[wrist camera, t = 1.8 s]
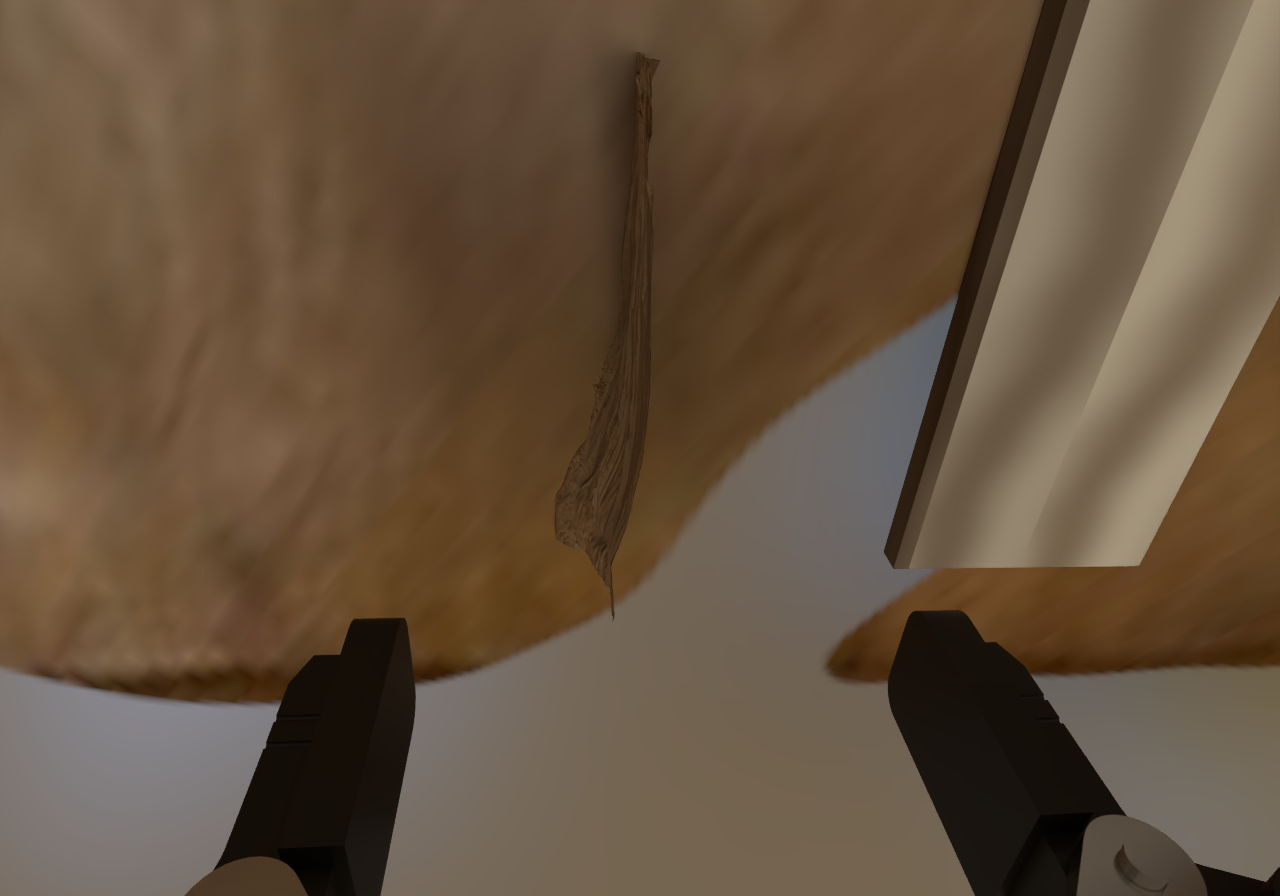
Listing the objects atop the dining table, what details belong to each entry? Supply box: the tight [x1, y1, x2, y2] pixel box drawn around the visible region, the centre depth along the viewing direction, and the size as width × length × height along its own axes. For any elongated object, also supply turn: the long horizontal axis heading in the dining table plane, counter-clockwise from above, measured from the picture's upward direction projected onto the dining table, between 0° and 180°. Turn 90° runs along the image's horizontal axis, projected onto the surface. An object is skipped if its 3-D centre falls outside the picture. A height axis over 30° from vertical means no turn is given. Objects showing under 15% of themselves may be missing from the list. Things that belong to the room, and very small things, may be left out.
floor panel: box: [884, 0, 1280, 569], centre depth 24 cm, size 10×20×1 cm, turn 176°
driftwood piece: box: [555, 53, 660, 619], centre depth 22 cm, size 15×2×5 cm, turn 174°
